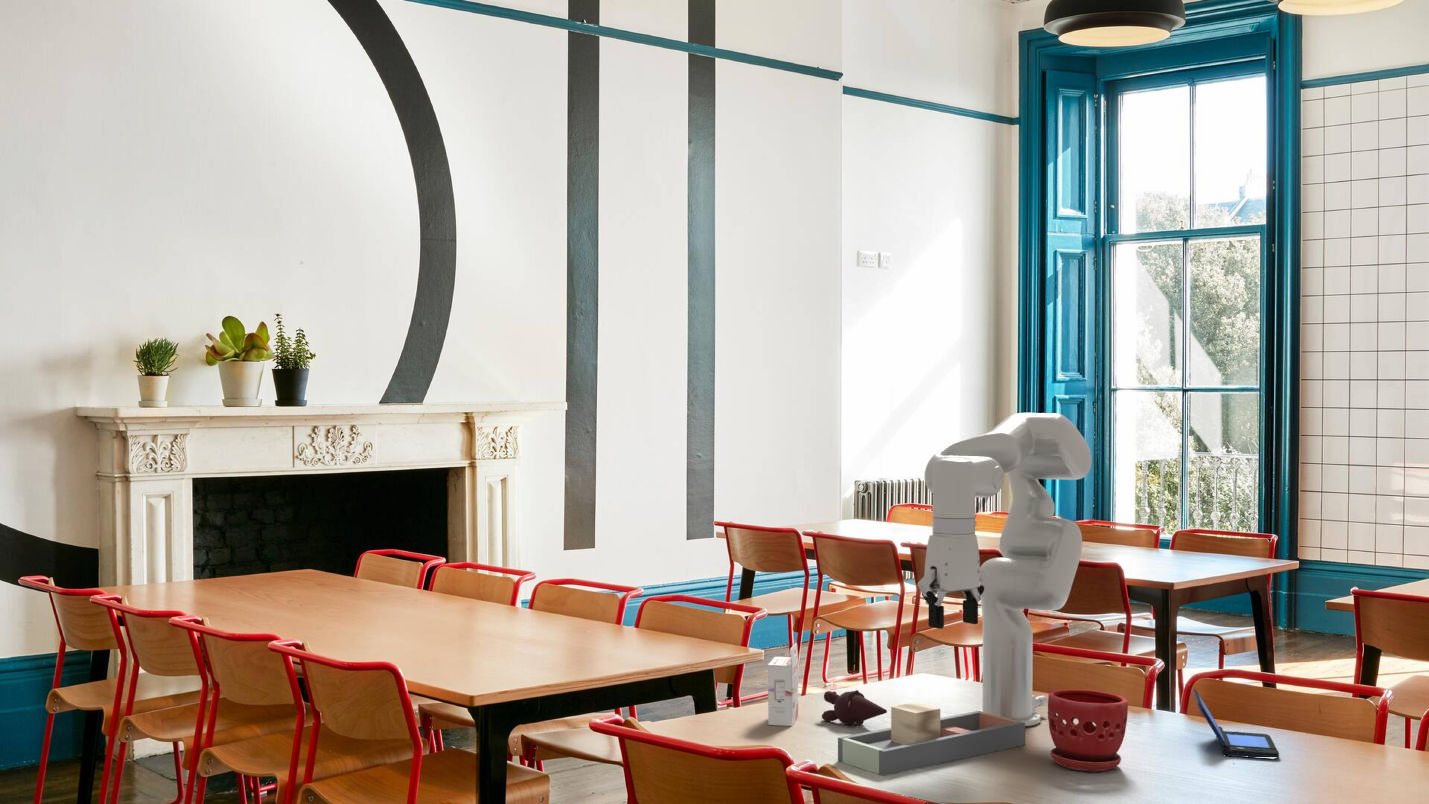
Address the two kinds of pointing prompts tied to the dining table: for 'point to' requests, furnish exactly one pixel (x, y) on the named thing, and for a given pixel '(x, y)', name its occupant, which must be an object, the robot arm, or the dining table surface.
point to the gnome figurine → (851, 708)
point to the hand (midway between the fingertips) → (953, 624)
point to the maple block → (914, 723)
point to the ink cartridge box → (783, 689)
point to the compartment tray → (932, 744)
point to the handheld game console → (1239, 738)
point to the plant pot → (1087, 728)
